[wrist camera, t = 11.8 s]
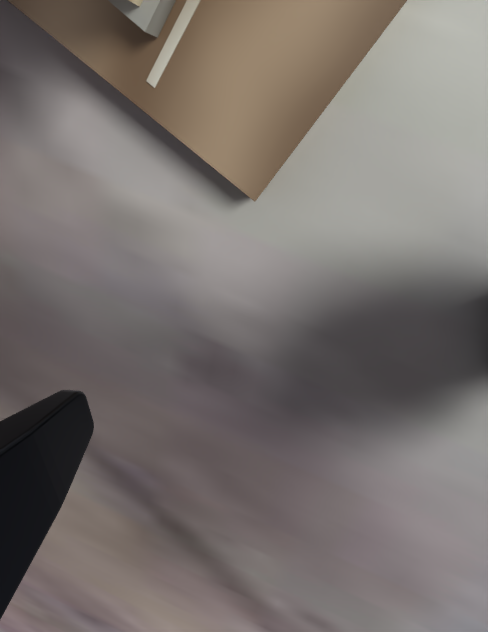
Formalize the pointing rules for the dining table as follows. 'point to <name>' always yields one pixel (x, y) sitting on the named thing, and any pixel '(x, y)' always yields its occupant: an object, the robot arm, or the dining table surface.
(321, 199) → the dining table surface
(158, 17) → the tall beige pillar block
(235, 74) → the walnut board
